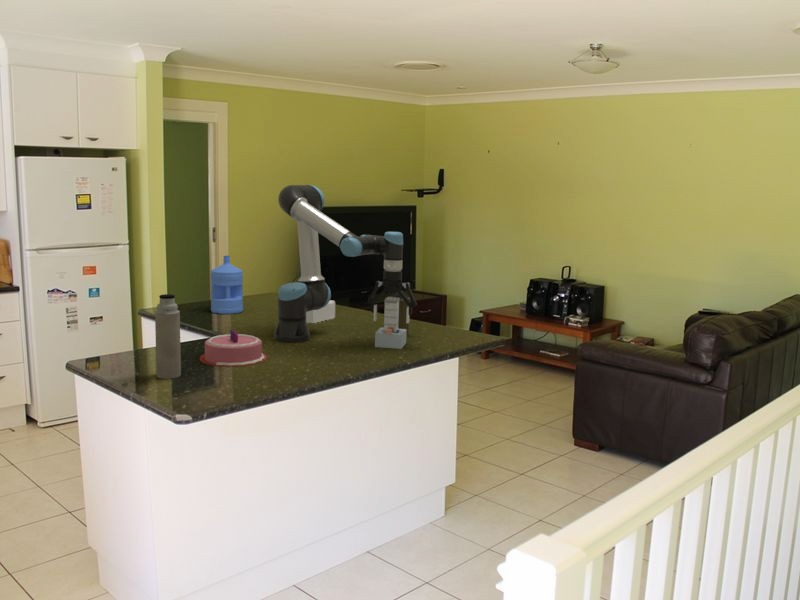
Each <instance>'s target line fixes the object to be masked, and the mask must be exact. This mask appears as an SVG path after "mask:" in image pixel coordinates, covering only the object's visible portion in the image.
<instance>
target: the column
mask: <svg viewBox="0 0 800 600" xmlns="http://www.w3.org/2000/svg"><path fill="white" fill-rule="evenodd" d="M383 301H384V303H383V304H384V309H383V310H384V315H383V317H384V318H383V319H384V320H383V321H384V322H383V328H384V332H385V330H386V329H392V333H398V323H399V322H398V321H399V301H400V298H393V297H389V296H386V297H385V299H384V300H383Z"/></svg>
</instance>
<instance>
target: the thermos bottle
mask: <svg viewBox="0 0 800 600" xmlns="http://www.w3.org/2000/svg"><path fill="white" fill-rule="evenodd" d="M178 308H179V306H178V304H177V303H176V301H175V294H169V293H166V294H165V293H164V294H159V302H158V304H156V311H154V323H155V324H154V325H155V330H154V331H155V363H156V365H155V366H156V367H155V368H156V377H157V378H159V379H164V380H165V379H166V380H167V379H176V378H180V376H181V375H182V364H181V363H182V361H181V360H182V358H181V357H182V356H181V314H180V312H181V311H180V310H178Z"/></svg>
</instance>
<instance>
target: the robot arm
mask: <svg viewBox="0 0 800 600" xmlns="http://www.w3.org/2000/svg"><path fill="white" fill-rule="evenodd" d="M277 200H278V202H277V203H278V205H279V207H280V209H281V210H282V211H283V212H284V213H285V214H287V215H288V216H290V217H291V218H293V219H295V220H296V223H297V235H298V236H297V237H298V250H299V253H298V254H299V260H300V277H299V278H298V279H297V281H295V282H288V283H285V284H282V285H281V286H279V287H278V294H277V297H278V299H277V301H278V308H277V309H278V313H277V314H278V317H277V318H278V320H277V321H278V322H277V324H276V328H275V330H274V334H273V335H274V337H273V339H274V340H275V341H277V342H280V343H281V342H282V343H294V344H295V343H304V342H308V341H310V340H311V332H310V330H309V325H308V323H307V322H306V312H308V311H312V310H318V309H321V308H323V307H325V306H326V305H327V304H328V303H329V301H330V300H331V297H332V293H331V288H330V287H329V286H328V284H327V283H326V280H325V279H326V278H325V277H324V276H323V275H322V272H321V271H322V269H321V261H320V260H321V257H320V243H319V234H320V235H321V236H323V237H324V238H325V239H327V240H328V241H330V242H332V243H333V244H334V245H336V246H337V247H339V249H340V251H341V253H342V254H343V255H344V256H345V257H351V258H353V257H358V256H365V255H381V256H382V255H383V269H384V270H383V277H382V278H383V279H382V281H380V280H377V281H375V285H374V287H373V290H372V291H371V293H370V295H369V297H368V299H367V300H366V303H367V304H369V305H371V306H370V307H371V313H373V322H376V321H377V320H378V304H377V302H378V301H379V300H380V299H381V298H382V297H383V296H384V295H385V293H388V294H391V293H392V294H394V293H398V294H399V295H400V296H401V297H402V299H403V300H404V301H405V302H406V304H407V305H408V307H407V318H406V323H409V324H410V316H412V314H413V307H416V306H417V304H418V303H417V300H416V299H415V296H414V294H413V291H412V290H411V283H410V282H403V271H402V270H403V253H404V251H403V250H404V234H403V233H402V232H400V231H386V232H384V235H375V234H374V235H373V234H372V235H371V234H362V235H360V236H357V235H356V234H354V233H353V232H351V231H350V230H349V229H347V228H345V227H344V226H342V225H341V224H340V223H338V222H337V221H335V220H334V219H332V218H331V217H329V216H328V215H326V214H324V213H323V212H322V209H323V207H324V205H325V195H324V193H323V192H322V190H321V189H320V188H319V187H317V186H315V185H311V184H290V185H287V186H284V187H283V188H282V189H281V191H280V192H279V194H278V198H277ZM381 286H382V287H383V290H382V291H380V293H379V294H378V295H377V296H376V293H377V291H378V290H379V288H380V287H381ZM402 288H404V289H406V292H407V294H408V296H407V295H406V294H405V292H404V291H403V289H402ZM375 296H376V297H375ZM374 297H375V299H374ZM407 297H409V298H410V301H409V299H408V298H407Z"/></svg>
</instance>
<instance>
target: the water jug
mask: <svg viewBox="0 0 800 600" xmlns="http://www.w3.org/2000/svg"><path fill="white" fill-rule="evenodd" d="M230 257H231V256H230V255H223V264H220V265H218V266H217V267H214V268H212V269H211V270H210V296H211V298H210V299H211V301H210V302H211V303H210V304H211V305H210V311H211V313H214V314H217V313H218V315H235V314H234V313H236V314H240V313H242V312H243V311H244V305H243V304H244V302H243V301H244V289H243V288H244V287H243V285H244V284H243V281H244V280H243V279H244V273H243V272H244V271H243V270H242V268H239V267H238V266H237V267H236V266H235V265H233V264H232V263H231V259H230Z"/></svg>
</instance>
